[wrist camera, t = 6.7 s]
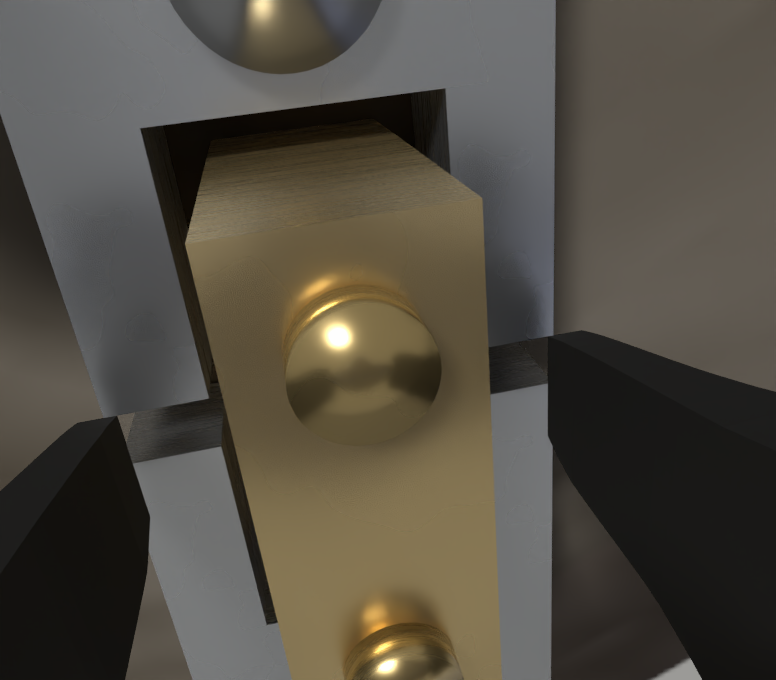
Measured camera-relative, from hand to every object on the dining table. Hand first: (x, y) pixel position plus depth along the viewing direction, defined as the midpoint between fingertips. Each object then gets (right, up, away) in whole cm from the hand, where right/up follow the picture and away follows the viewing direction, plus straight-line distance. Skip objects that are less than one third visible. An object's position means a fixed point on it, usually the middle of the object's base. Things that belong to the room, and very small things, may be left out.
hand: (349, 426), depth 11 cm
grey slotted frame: (-1, +1, +3) cm, 3 cm away
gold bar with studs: (-1, +2, +3) cm, 4 cm away
